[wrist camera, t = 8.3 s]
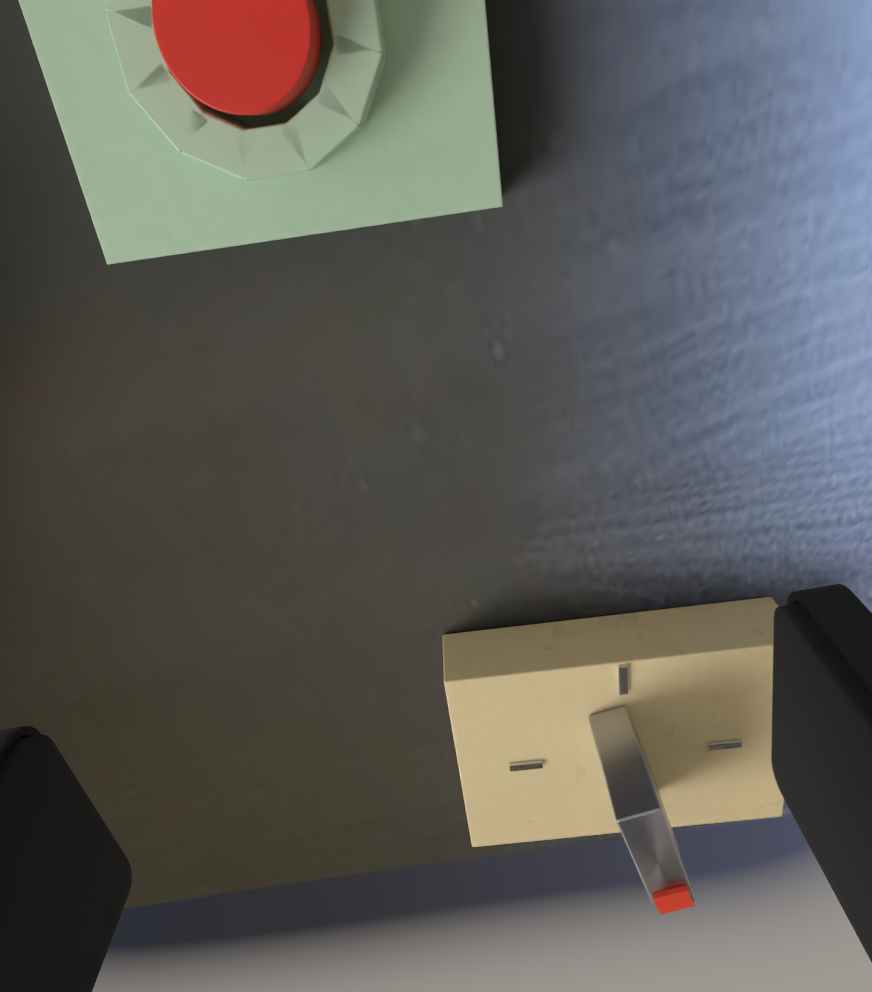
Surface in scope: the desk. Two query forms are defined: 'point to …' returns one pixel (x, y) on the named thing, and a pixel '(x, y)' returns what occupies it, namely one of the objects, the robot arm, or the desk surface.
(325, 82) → the block
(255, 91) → the button
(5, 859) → the robot arm
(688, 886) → the metal bar
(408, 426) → the desk surface
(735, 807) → the beige lever base
